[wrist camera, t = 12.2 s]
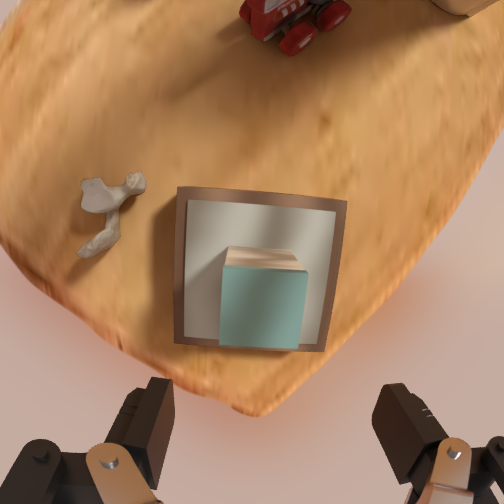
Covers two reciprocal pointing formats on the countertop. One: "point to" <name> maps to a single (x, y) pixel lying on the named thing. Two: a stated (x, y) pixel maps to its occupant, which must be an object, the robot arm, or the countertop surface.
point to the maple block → (262, 298)
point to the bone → (107, 209)
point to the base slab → (257, 236)
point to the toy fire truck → (292, 20)
